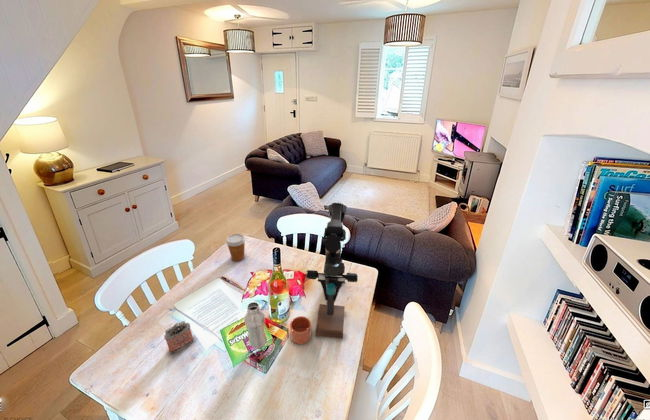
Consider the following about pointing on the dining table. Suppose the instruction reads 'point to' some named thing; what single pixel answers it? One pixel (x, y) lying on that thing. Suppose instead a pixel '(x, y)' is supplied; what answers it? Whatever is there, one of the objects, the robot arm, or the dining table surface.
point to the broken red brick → (178, 337)
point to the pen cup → (300, 330)
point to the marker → (330, 299)
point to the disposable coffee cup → (236, 246)
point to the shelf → (330, 322)
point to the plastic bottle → (255, 326)
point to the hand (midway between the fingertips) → (330, 300)
